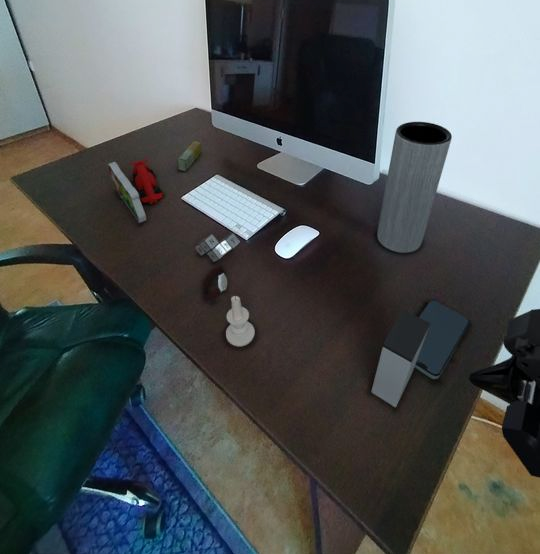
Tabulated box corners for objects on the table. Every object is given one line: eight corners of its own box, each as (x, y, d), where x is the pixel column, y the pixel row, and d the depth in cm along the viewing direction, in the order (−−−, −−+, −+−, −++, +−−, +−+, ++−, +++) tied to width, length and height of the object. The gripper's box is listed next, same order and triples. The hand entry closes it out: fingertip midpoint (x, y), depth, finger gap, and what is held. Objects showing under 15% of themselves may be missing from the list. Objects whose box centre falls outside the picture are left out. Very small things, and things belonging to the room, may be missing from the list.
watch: (222, 303, 73) (219, 291, 71) (199, 301, 73) (196, 289, 71) (231, 274, 79) (229, 262, 77) (209, 272, 79) (207, 260, 77)
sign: (148, 224, 94) (138, 191, 88) (141, 226, 93) (131, 194, 87) (120, 186, 108) (110, 156, 102) (114, 188, 108) (104, 158, 102)
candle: (238, 317, 70) (233, 279, 64) (260, 330, 67) (257, 293, 61) (220, 337, 67) (212, 299, 60) (242, 352, 64) (236, 314, 58)
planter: (412, 223, 90) (438, 119, 74) (428, 252, 82) (462, 142, 66) (371, 226, 90) (389, 122, 74) (384, 255, 82) (406, 145, 66)
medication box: (186, 171, 114) (185, 160, 111) (178, 170, 114) (176, 159, 112) (201, 152, 123) (201, 142, 120) (194, 151, 123) (193, 140, 121)
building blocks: (208, 265, 84) (225, 256, 78) (193, 246, 83) (209, 236, 77) (223, 251, 87) (240, 242, 81) (209, 233, 87) (225, 223, 81)
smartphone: (472, 319, 66) (438, 378, 57) (469, 325, 67) (435, 384, 58) (431, 297, 71) (393, 349, 62) (428, 302, 72) (391, 354, 63)
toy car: (143, 207, 99) (138, 192, 96) (132, 177, 112) (128, 162, 109) (165, 201, 101) (161, 186, 98) (152, 172, 114) (148, 157, 111)
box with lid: (412, 372, 60) (430, 322, 52) (395, 407, 56) (412, 359, 48) (389, 358, 62) (403, 309, 54) (371, 392, 58) (383, 343, 50)
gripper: (588, 263, 41) (457, 285, 53) (572, 400, 29) (409, 388, 42) (639, 341, 42) (499, 345, 54) (644, 505, 30) (464, 463, 42)
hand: (471, 379), depth 48 cm, fingers closed
